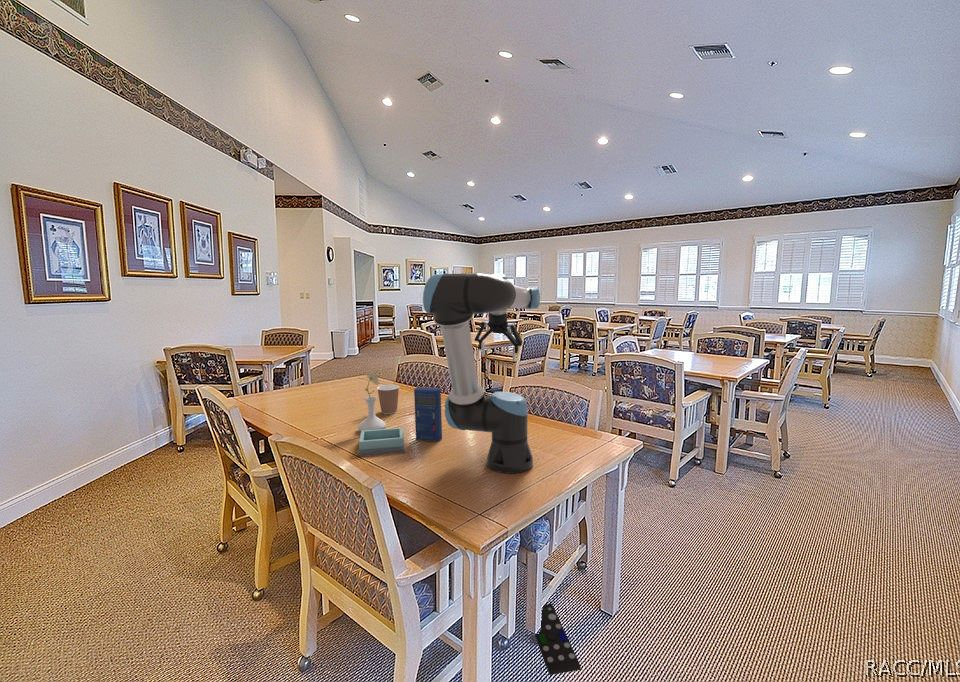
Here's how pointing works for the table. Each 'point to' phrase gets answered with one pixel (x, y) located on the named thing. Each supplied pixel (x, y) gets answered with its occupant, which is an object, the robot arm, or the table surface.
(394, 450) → the charging dock
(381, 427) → the flower in vase
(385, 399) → the coffee cup
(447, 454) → the table surface
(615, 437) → the table surface
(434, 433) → the electronic device
